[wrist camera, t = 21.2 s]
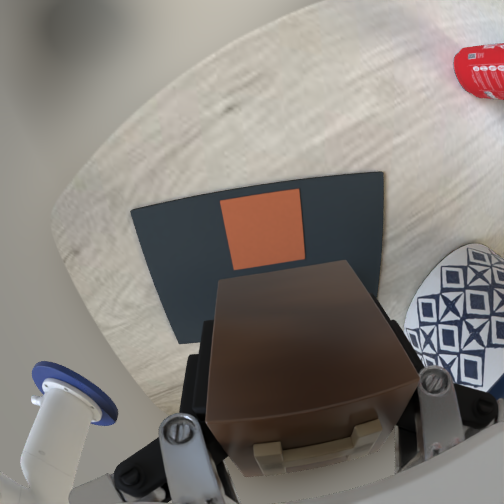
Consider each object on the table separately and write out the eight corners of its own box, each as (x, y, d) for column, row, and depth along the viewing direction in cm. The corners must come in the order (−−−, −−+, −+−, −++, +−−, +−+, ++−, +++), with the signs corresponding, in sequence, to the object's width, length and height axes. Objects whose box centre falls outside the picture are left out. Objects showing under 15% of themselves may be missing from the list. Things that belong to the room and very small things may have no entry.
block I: (240, 363, 12) (244, 486, 7) (217, 279, 10) (203, 438, 5) (341, 346, 12) (381, 459, 7) (345, 258, 10) (428, 391, 4)
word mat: (179, 341, 26) (178, 344, 25) (131, 209, 20) (129, 211, 19) (373, 310, 25) (375, 313, 25) (381, 171, 19) (384, 172, 19)
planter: (492, 301, 27) (545, 362, 14) (412, 364, 31) (453, 443, 18) (487, 215, 21) (577, 278, 8) (386, 295, 25) (458, 408, 12)
